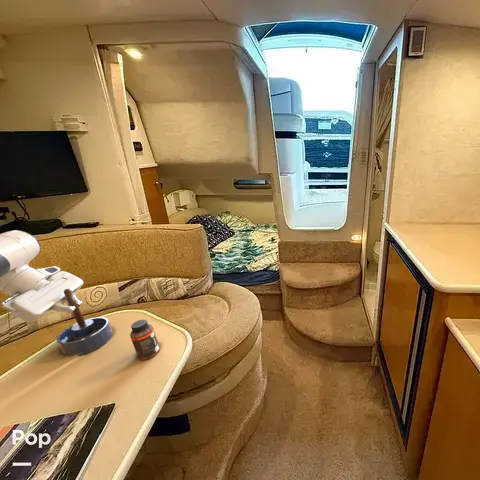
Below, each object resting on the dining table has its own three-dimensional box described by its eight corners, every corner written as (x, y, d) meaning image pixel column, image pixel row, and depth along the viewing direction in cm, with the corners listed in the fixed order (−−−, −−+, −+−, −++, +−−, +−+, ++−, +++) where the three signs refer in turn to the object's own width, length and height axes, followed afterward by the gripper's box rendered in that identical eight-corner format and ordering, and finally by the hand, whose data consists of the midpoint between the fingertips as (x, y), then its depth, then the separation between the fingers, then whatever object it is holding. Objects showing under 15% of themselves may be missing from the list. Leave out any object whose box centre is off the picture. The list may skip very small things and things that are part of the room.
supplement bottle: (164, 349, 84) (154, 319, 80) (146, 363, 79) (135, 331, 75) (152, 344, 87) (142, 315, 83) (134, 357, 82) (122, 327, 78)
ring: (54, 352, 86) (47, 338, 85) (99, 326, 98) (94, 314, 96) (77, 362, 81) (71, 347, 79) (122, 334, 93) (117, 321, 91)
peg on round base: (70, 335, 87) (50, 292, 82) (90, 325, 92) (71, 283, 86) (80, 339, 85) (60, 295, 80) (100, 328, 90) (82, 285, 84)
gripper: (1, 295, 71) (57, 321, 75) (59, 263, 90) (101, 285, 94) (-10, 312, 72) (46, 336, 76) (50, 277, 91) (92, 298, 95)
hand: (77, 308), depth 86 cm, fingers closed on peg on round base
